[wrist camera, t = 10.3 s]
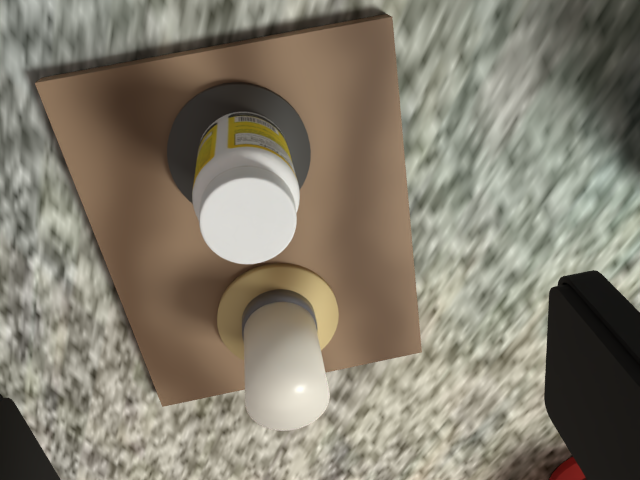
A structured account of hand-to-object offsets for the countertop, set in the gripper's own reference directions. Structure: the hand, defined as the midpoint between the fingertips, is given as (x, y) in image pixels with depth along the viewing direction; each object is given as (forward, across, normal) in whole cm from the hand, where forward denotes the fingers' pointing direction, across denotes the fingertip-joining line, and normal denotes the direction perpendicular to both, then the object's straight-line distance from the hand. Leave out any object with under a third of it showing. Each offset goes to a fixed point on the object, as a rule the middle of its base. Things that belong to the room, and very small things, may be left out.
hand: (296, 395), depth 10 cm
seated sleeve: (+22, +2, +15) cm, 26 cm away
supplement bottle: (+22, +2, +4) cm, 22 cm away
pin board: (+24, +2, +9) cm, 25 cm away
